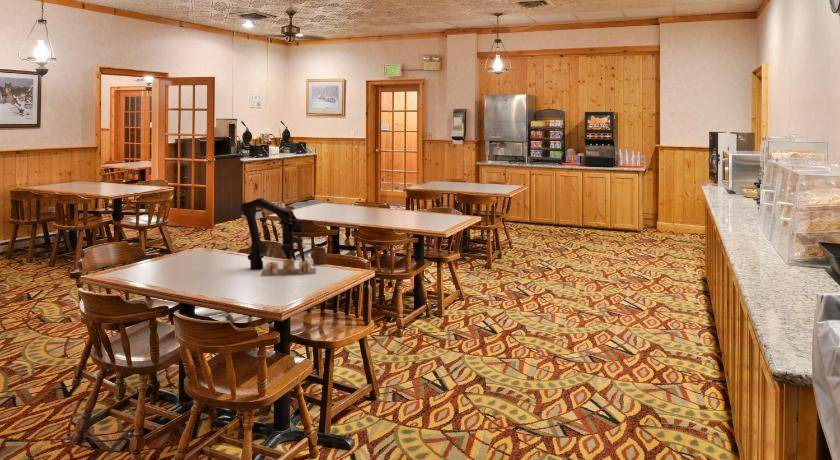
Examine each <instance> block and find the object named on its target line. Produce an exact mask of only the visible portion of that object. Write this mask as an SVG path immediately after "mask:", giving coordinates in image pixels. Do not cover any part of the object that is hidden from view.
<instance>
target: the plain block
mask: <svg viewBox="0 0 840 460" xmlns="http://www.w3.org/2000/svg"><path fill="white" fill-rule="evenodd" d="M282 269H283V272H294V270H295V269H296V268H295V259H294V258H293V259H283V261H282Z"/></svg>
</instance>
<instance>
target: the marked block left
mask: <svg viewBox="0 0 840 460" xmlns="http://www.w3.org/2000/svg"><path fill="white" fill-rule="evenodd" d="M278 264H279V262H278V261H273V262H272V261H270V262H269V261H268V262H265V270H266V275H277V274H278V269H279V265H278Z"/></svg>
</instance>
